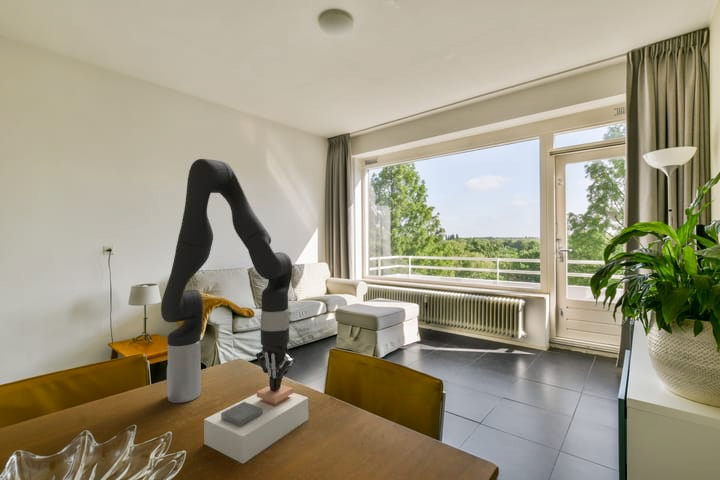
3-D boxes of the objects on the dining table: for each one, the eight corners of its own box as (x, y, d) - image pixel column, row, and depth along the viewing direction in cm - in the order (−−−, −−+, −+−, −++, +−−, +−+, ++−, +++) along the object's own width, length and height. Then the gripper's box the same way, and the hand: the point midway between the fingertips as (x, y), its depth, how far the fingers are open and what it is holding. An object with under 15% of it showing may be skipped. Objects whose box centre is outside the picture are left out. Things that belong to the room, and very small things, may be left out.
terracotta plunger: (256, 415, 93) (256, 391, 93) (275, 405, 99) (275, 382, 99) (275, 422, 89) (274, 397, 89) (293, 411, 95) (293, 388, 95)
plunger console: (204, 443, 84) (204, 419, 84) (271, 406, 102) (271, 386, 102) (243, 463, 76) (242, 436, 76) (308, 419, 95) (308, 397, 95)
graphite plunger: (221, 439, 83) (221, 413, 83) (244, 426, 89) (244, 401, 89) (239, 448, 80) (239, 420, 80) (262, 434, 86) (262, 408, 86)
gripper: (247, 326, 94) (247, 389, 94) (282, 332, 87) (283, 401, 87) (268, 320, 100) (268, 380, 100) (302, 326, 93) (302, 390, 93)
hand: (275, 389), depth 94 cm, fingers closed
